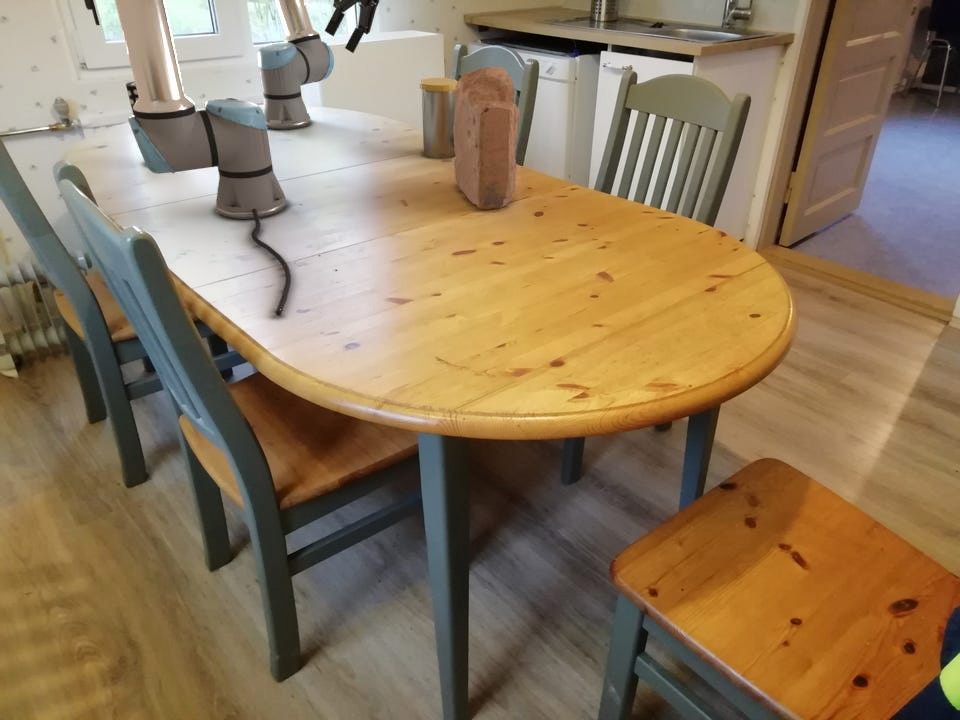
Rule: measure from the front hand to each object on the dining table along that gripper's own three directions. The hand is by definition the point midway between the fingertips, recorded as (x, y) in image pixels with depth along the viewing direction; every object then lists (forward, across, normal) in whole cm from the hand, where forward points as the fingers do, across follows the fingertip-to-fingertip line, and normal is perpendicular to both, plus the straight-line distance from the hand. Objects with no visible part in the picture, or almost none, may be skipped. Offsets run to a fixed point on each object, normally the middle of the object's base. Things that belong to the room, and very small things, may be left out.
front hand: (128, 23), depth 171 cm
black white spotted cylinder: (+24, 0, +3) cm, 24 cm away
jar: (+34, -71, +30) cm, 84 cm away
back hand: (+7, -53, +2) cm, 54 cm away
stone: (+34, -65, +66) cm, 99 cm away
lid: (+15, -71, +30) cm, 78 cm away
